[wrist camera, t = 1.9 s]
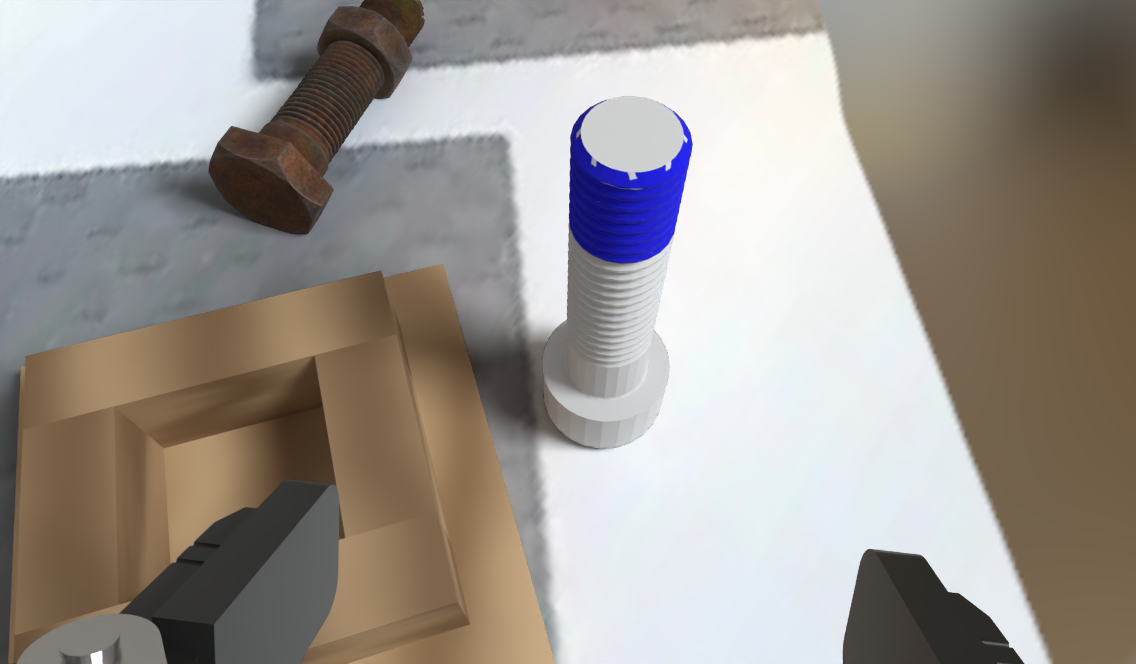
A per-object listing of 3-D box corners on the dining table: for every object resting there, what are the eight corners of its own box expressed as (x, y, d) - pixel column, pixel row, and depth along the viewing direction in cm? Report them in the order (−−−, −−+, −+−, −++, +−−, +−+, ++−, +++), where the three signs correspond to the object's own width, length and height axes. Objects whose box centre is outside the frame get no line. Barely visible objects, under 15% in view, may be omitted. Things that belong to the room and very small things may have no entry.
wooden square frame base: (19, 859, 25) (-95, 876, 20) (35, 377, 33) (-44, 317, 29) (558, 678, 28) (558, 659, 23) (445, 275, 36) (430, 207, 32)
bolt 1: (423, 62, 46) (298, 252, 39) (347, 9, 45) (201, 195, 37) (459, -3, 41) (325, 198, 34) (376, -65, 40) (216, 131, 32)
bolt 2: (684, 402, 33) (598, 476, 31) (605, 325, 35) (519, 391, 33) (772, 141, 20) (628, 245, 18) (635, 38, 21) (493, 125, 20)
